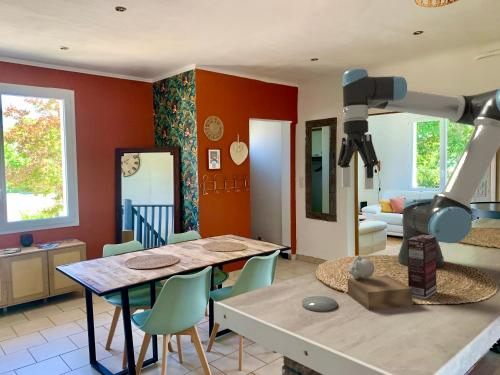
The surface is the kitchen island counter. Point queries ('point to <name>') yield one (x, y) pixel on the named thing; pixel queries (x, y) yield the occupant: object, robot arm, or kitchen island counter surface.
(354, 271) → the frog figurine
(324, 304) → the grey oval dome
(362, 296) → the walnut block
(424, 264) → the supplement box
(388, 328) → the kitchen island counter surface
